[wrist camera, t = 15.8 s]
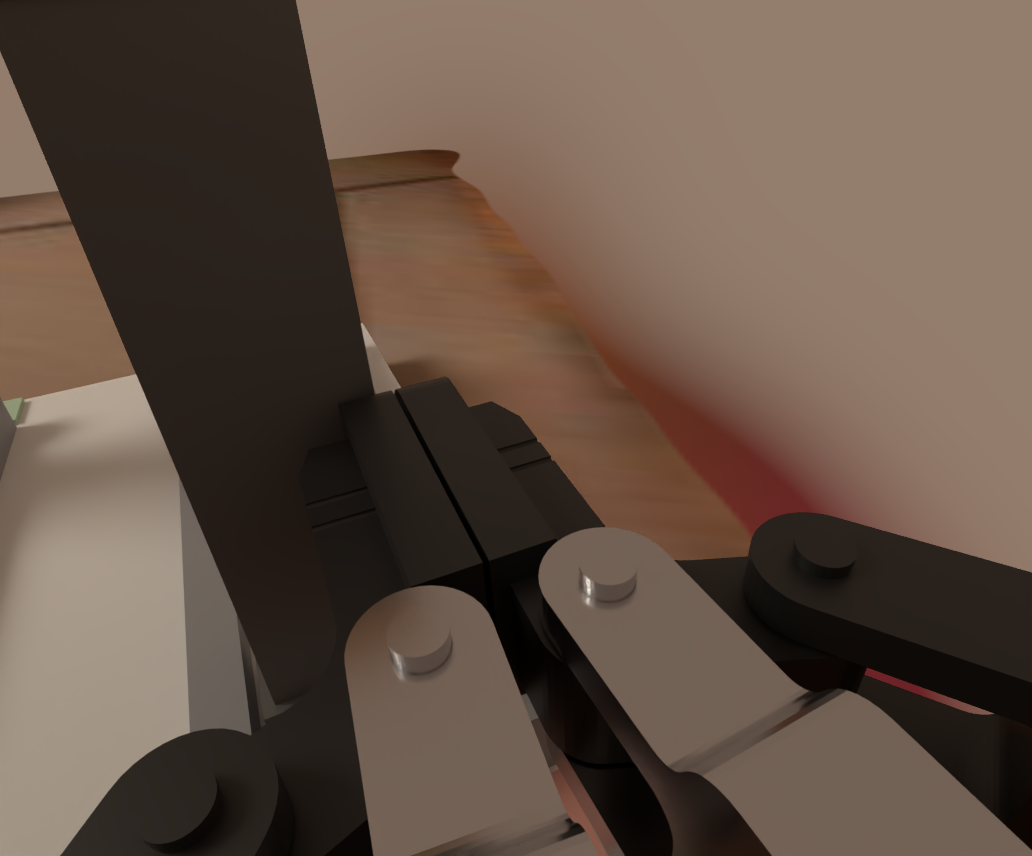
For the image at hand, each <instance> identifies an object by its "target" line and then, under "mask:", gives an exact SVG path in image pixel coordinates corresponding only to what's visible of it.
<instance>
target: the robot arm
mask: <svg viewBox="0 0 1032 856" xmlns="http://www.w3.org/2000/svg"><path fill="white" fill-rule="evenodd" d="M338 406H339V412H340V417H341V421H342V426H343V430H344V434H345V438H346V440H343V441H339V442H336V443H332V444H328V445H324V446H321V447H317V448H313V449H309V451H308V454H307V456H306V459H305V462H304V464H303V467H302V469H301V472H300V475H299V480H300V484H301V488H302V492H303V496H304V500H305V504H306V508H307V512H308V516H309V520H310V524H311V527H312V531H313V535H314V539H315V543H316V547H317V551H318V555H319V559H320V563H321V567H322V571H323V575H324V579H325V583H326V586H327V590H328V594H329V598H330V602H331V606H332V610H333V614H334V618H335V623H336V630H337V631H336V643H335V647H334V651H333V654H332V657H331V659H330V661H329V664H328V666H327V667H326V669H325V671H324V672H323V674H322V676H321V677H320V678H319V680H318V681H317V682H316V683H315V685H314V686H313V687H312V688H311V689H310V690H309V691H308V692H307V693H306V694H305V695H304V696H303V697H302V698H301V699H300V700H299V701H297V702H296V703H295V704H294V705H292V706H291V707H290V708H288V709H287V710H286V711H284V712H283V713H281V714H280V715H278V716H277V717H276V718H274V719H273V720H271V721H270V722H268V723H267V724H266V725H264V726H263V727H261V728H260V729H258V730H257V731H256V732H254V733H253V734H251V735H248V734H245V733H243V732H240V731H237V730H231V729H225V728H218V729H205V730H199V731H194V732H191V733H188V734H185V735H182V736H179V737H176V738H174V739H172V740H170V741H168V742H166V743H163V744H162V745H160V746H159V747H157V748H155V749H154V750H152V751H150V752H149V753H147V754H146V755H145V756H143V757H142V758H141V759H140V760H138V761H137V762H136V763H134V764H133V765H132V766H131V767H130V768H129V769H128V770H127V771H126V772H125V773H124V774H123V775H122V776H121V777H120V778H119V779H118V780H117V781H116V783H115V784H114V785H113V786H112V787H111V789H110V790H109V791H108V792H107V793H106V795H105V796H104V798H103V799H102V800H101V802H100V803H99V804H98V806H97V807H96V808H95V810H94V811H93V812H92V814H91V815H90V816H89V818H88V819H87V820H86V822H85V823H84V824H83V826H82V827H81V828H80V830H79V831H78V832H77V834H76V835H75V836H74V838H73V839H72V841H71V842H70V843H69V845H68V846H67V847H66V849H65V850H64V851H63V853H62V854H61V855H60V856H599V855H598V853H597V851H596V849H595V847H594V845H593V843H592V841H591V839H590V837H589V836H588V834H587V832H586V831H585V830H584V828H583V827H582V826H581V825H580V824H579V823H575V822H573V821H572V820H571V818H570V817H569V815H568V813H567V811H566V809H565V807H564V805H563V803H562V801H561V798H560V796H559V793H558V791H557V788H556V785H555V783H554V780H553V778H552V775H551V772H550V770H549V767H548V765H547V762H546V759H545V757H544V754H543V751H542V749H541V746H540V744H539V741H538V738H537V736H536V733H535V731H534V728H533V725H532V723H531V720H530V718H529V715H528V712H527V710H526V707H525V705H524V702H523V699H522V697H521V696H522V695H524V694H526V693H527V695H528V697H529V699H530V702H531V704H532V706H533V708H534V710H535V712H536V714H537V716H538V718H539V720H540V722H541V724H542V726H543V728H544V730H545V733H546V742H547V746H548V749H549V752H550V754H551V756H552V758H553V760H554V761H555V763H556V765H557V767H558V768H559V770H560V772H561V774H562V775H563V777H564V779H565V780H566V782H567V784H568V786H569V787H570V789H571V791H572V792H573V794H574V796H575V798H576V799H577V801H578V803H579V805H580V806H581V808H582V810H583V811H584V813H585V815H586V817H587V818H588V820H589V822H590V823H591V825H592V827H593V829H594V830H595V832H596V834H597V836H598V837H599V839H600V841H601V842H602V844H603V846H604V848H605V849H606V851H607V853H608V855H609V856H1032V573H1031V572H1028V571H1024V570H1021V569H1017V568H1013V567H1010V566H1006V565H1003V564H999V563H996V562H992V561H989V560H985V559H982V558H978V557H975V556H971V555H968V554H964V553H960V552H957V551H953V550H949V549H946V548H942V547H939V546H936V545H932V544H929V543H925V542H921V541H918V540H914V539H911V538H907V537H904V536H900V535H897V534H893V533H889V532H886V531H882V530H879V529H875V528H872V527H868V526H864V525H861V524H858V523H854V522H850V521H847V520H843V519H840V518H836V517H832V516H828V515H824V514H817V513H804V512H803V513H802V512H798V513H788V514H784V515H780V516H777V517H774V518H772V519H769V520H768V521H766V522H765V523H763V524H762V525H761V526H760V527H759V528H758V529H757V530H756V531H755V533H754V535H753V537H752V540H751V544H750V549H749V554H748V557H734V558H719V559H705V560H683V561H679V560H673V559H672V558H671V557H670V556H669V555H668V554H667V553H666V552H665V551H664V550H663V549H662V548H661V547H660V546H659V545H658V544H656V543H655V542H653V541H652V540H650V539H648V538H647V537H644V536H642V535H640V534H638V533H635V532H632V531H629V530H624V529H619V528H609V527H605V525H604V524H603V523H602V522H601V520H600V519H599V518H598V516H597V515H596V514H595V513H594V511H593V510H592V509H591V507H590V506H589V505H588V504H587V502H586V501H585V500H584V498H583V497H582V496H581V495H580V493H579V492H578V491H577V489H576V488H575V487H574V486H573V484H572V483H571V482H570V480H569V479H568V478H567V476H566V475H565V474H564V473H563V471H562V470H561V469H560V467H559V466H558V465H557V464H556V462H555V461H552V460H551V456H550V455H549V453H548V452H547V451H546V449H545V448H544V447H543V446H542V444H541V443H540V442H539V443H538V442H537V438H536V437H535V435H534V434H533V433H532V431H531V430H530V429H529V427H528V426H527V425H526V424H525V422H524V421H523V420H522V418H521V417H520V416H518V415H516V414H515V413H513V412H511V411H509V410H507V409H505V408H503V407H501V406H499V405H497V404H496V403H494V402H492V401H491V402H487V403H484V404H480V405H476V406H472V407H468V406H467V405H466V403H465V402H464V400H463V399H462V397H461V396H460V394H459V393H458V391H457V390H456V388H455V387H454V385H453V384H452V382H451V381H450V380H449V378H447V377H443V378H439V379H435V380H431V381H427V382H423V383H419V384H415V385H411V386H407V387H403V388H399V389H395V392H394V393H393V392H392V391H391V390H390V391H386V392H382V393H378V394H374V395H370V396H366V397H362V398H358V399H354V400H350V401H346V402H342V403H339V404H338ZM867 668H870V669H873V670H875V671H878V672H881V673H884V674H887V675H890V676H892V677H895V678H898V679H900V680H903V681H906V682H909V683H912V684H914V685H917V686H920V687H922V688H925V689H928V690H931V691H934V692H936V693H939V694H942V695H945V696H947V697H950V698H953V699H956V700H959V701H961V702H964V703H967V704H970V705H972V706H975V707H978V708H981V709H983V710H986V711H989V712H992V713H994V714H990V715H979V714H972V713H968V712H965V711H962V710H959V709H956V708H953V707H951V706H948V705H945V704H942V703H940V702H937V701H934V700H931V699H929V698H926V697H923V696H921V695H918V694H915V693H912V692H910V691H907V690H904V689H901V688H899V687H896V686H893V685H891V684H888V683H885V682H882V681H880V680H877V679H874V678H872V677H869V676H866V675H864V674H865V671H866V669H867Z"/></svg>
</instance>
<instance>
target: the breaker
mask: <svg viewBox="0 0 1032 856" xmlns="http://www.w3.org/2000/svg"><path fill="white" fill-rule="evenodd" d="M0 52H1V54H2V56H3V59H4V61H5V63H6V66H7V68H8V70H9V73H10V75H11V78H12V80H13V83H14V85H15V87H16V89H17V92H18V94H19V97H20V99H21V101H22V104H23V106H24V109H25V111H26V113H27V116H28V118H29V121H30V123H31V125H32V128H33V130H34V132H35V135H36V137H37V140H38V142H39V144H40V147H41V149H42V151H43V154H44V156H45V159H46V161H47V163H48V166H49V168H50V171H51V173H52V175H53V178H54V180H55V182H56V185H57V187H58V190H59V192H60V194H61V197H62V199H63V202H64V204H65V206H66V209H67V211H68V213H69V216H70V218H71V221H72V223H73V225H74V228H75V230H76V232H77V235H78V237H79V240H80V242H81V244H82V247H83V249H84V251H85V254H86V256H87V259H88V261H89V263H90V266H91V268H92V271H93V273H94V275H95V278H96V280H97V282H98V285H99V287H100V290H101V292H102V294H103V297H104V299H105V301H106V304H107V306H108V309H109V311H110V313H111V316H112V318H113V320H114V323H115V325H116V328H117V330H118V332H119V335H120V337H121V340H122V342H123V344H124V347H125V349H126V351H127V354H128V356H129V359H130V361H131V363H132V366H133V368H134V370H135V373H136V375H137V378H138V380H139V382H140V385H141V387H142V390H143V392H144V394H145V397H146V399H147V401H148V404H149V406H150V409H151V411H152V413H153V416H154V418H155V420H156V423H157V425H158V428H159V430H160V432H161V435H162V437H163V439H164V442H165V444H166V447H167V449H168V451H169V454H170V456H171V459H172V461H173V463H174V466H175V468H176V470H177V473H178V475H179V478H180V480H181V482H182V485H183V487H184V489H185V492H186V494H187V497H188V499H189V501H190V504H191V506H192V508H193V511H194V513H195V516H196V518H197V520H198V523H199V525H200V528H201V530H202V532H203V535H204V537H205V539H206V542H207V544H208V547H209V549H210V551H211V554H212V556H213V558H214V561H215V563H216V566H217V568H218V570H219V573H220V575H221V577H222V580H223V582H224V585H225V587H226V589H227V592H228V594H229V597H230V599H231V601H232V604H233V606H234V608H235V611H236V613H237V616H238V618H239V620H240V623H241V625H242V627H243V630H244V632H245V635H246V637H247V639H248V642H249V644H250V646H251V649H252V651H253V654H254V656H255V660H256V667H257V674H258V681H259V688H260V695H261V702H262V709H263V716H264V721H265V723H266V724H267V723H268V722H270V721H271V720H273V719H274V718H276V717H277V716H278V715H280V714H281V713H283V712H284V711H286V710H287V709H288V708H290V707H291V706H292V705H294V704H295V703H296V702H297V701H299V700H300V699H301V698H302V697H303V696H304V695H305V694H306V693H307V692H308V691H309V690H310V689H311V688H312V687H313V686H314V685H315V683H316V682H317V681H318V680H319V678H320V677H321V676H322V674H323V672H324V671H325V669H326V667H327V666H328V664H329V661H330V659H331V657H332V654H333V651H334V647H335V643H336V631H337V630H336V623H335V618H334V614H333V610H332V606H331V602H330V598H329V594H328V590H327V586H326V583H325V579H324V575H323V571H322V567H321V563H320V559H319V555H318V551H317V547H316V543H315V539H314V535H313V531H312V527H311V524H310V520H309V516H308V512H307V508H306V504H305V500H304V496H303V492H302V488H301V484H300V480H299V475H300V472H301V469H302V467H303V464H304V462H305V459H306V456H307V454H308V451H309V449H313V448H317V447H321V446H324V445H328V444H332V443H336V442H339V441H343V440H346V438H345V434H344V430H343V426H342V421H341V417H340V412H339V406H338V404H339V403H342V402H346V401H350V400H354V399H358V398H362V397H366V396H370V395H374V394H375V392H374V387H373V382H372V377H371V372H370V367H369V362H368V357H367V352H366V347H365V342H364V337H363V332H362V327H361V322H360V317H359V312H358V308H357V303H356V298H355V293H354V288H353V283H352V278H351V273H350V268H349V263H348V258H347V253H346V248H345V243H344V238H343V233H342V228H341V223H340V218H339V213H338V208H337V203H336V198H335V193H334V188H333V183H332V178H331V173H330V168H329V163H328V158H327V154H326V149H325V144H324V139H323V134H322V129H321V124H320V119H319V114H318V109H317V104H316V99H315V94H314V89H313V84H312V79H311V74H310V70H309V64H308V59H307V55H306V49H305V44H304V40H303V34H302V30H301V24H300V20H299V14H298V9H297V5H296V0H0Z"/></svg>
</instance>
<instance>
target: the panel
mask: <svg viewBox="0 0 1032 856" xmlns="http://www.w3.org/2000/svg"><path fill="white" fill-rule="evenodd" d="M361 327H362V332H363V337H364V342H365V347H366V352H367V357H368V362H369V367H370V372H371V377H372V382H373V387H374V392H375V394H378V393H382V392H386V391H390V390H391V391H392V392H393V393H394V392H395V389H399V388H401V387H400V385H399V383H398V382H397V380H396V378H395V377H394V375H393V373H392V372H391V370H390V368H389V367H388V365H387V363H386V362H385V360H384V358H383V357H382V355H381V353H380V352H379V350H378V348H377V347H376V345H375V343H374V342H373V340H372V338H371V336H370V335H369V333H368V331H367V330H366V328H365V326H364V325H363V323H361ZM521 697H522V699H523V702H524V705H525V707H526V710H527V712H528V715H529V718H530V720H531V723H532V725H533V728H534V731H535V733H536V736H537V738H538V741H539V744H540V746H541V749H542V751H543V754H544V757H545V759H546V762H547V765H548V767H549V770H550V772H551V775H552V778H553V780H554V783H555V785H556V788H557V791H558V793H559V796H560V798H561V801H562V803H563V805H564V807H565V809H566V811H567V813H568V815H569V817H570V818H571V820H572V821H573V822H575V823H579V824H580V825H581V826H582V827H583V828H584V830H585V831H586V832H587V834H588V836H589V837H590V839H591V841H592V843H593V845H594V847H595V849H596V851H597V853H598V855H599V856H609V855H608V853H607V851H606V849H605V848H604V846H603V844H602V842H601V841H600V839H599V837H598V836H597V834H596V832H595V830H594V829H593V827H592V825H591V823H590V822H589V820H588V818H587V817H586V815H585V813H584V811H583V810H582V808H581V806H580V805H579V803H578V801H577V799H576V798H575V796H574V794H573V792H572V791H571V789H570V787H569V786H568V784H567V782H566V780H565V779H564V777H563V775H562V774H561V772H560V770H559V768H558V767H557V765H556V763H555V761H554V760H553V758H552V756H551V754H550V752H549V749H548V746H547V742H546V733H545V730H544V728H543V726H542V724H541V722H540V720H539V718H538V716H537V714H536V712H535V710H534V708H533V706H532V704H531V702H530V699H529V697H528V695H527V693H526V694H524V695H522V696H521ZM264 725H266V723H265V721H264V716H263V709H262V702H261V695H260V688H259V681H258V674H257V667H256V660H255V656H254V654H253V651H252V649H251V646H250V644H249V642H248V639H247V637H246V635H245V632H244V630H243V627H242V625H241V623H240V620H239V618H238V616H237V613H236V611H235V608H234V606H233V604H232V601H231V599H230V597H229V594H228V592H227V589H226V587H225V585H224V582H223V580H222V577H221V575H220V573H219V570H218V568H217V566H216V563H215V561H214V558H213V556H212V554H211V551H210V549H209V547H208V544H207V542H206V539H205V537H204V535H203V532H202V530H201V528H200V525H199V523H198V520H197V518H196V516H195V513H194V511H193V508H192V506H191V504H190V501H189V499H188V497H187V494H186V492H185V489H184V487H183V485H182V482H181V480H180V478H179V475H178V473H177V470H176V468H175V466H174V463H173V461H172V459H171V456H170V454H169V451H168V449H167V447H166V444H165V442H164V439H163V437H162V435H161V432H160V430H159V428H158V425H157V423H156V420H155V418H154V416H153V413H152V411H151V409H150V406H149V404H148V401H147V399H146V397H145V394H144V392H143V390H142V387H141V385H140V382H139V380H138V378H137V375H131V376H127V377H122V378H118V379H114V380H109V381H105V382H100V383H96V384H92V385H87V386H83V387H78V388H74V389H70V390H65V391H61V392H56V393H52V394H47V395H43V396H39V397H34V398H30V399H25V400H24V399H23V397H21V398H17V399H12V400H8V401H3V402H2V400H1V398H0V856H60V855H61V854H62V853H63V851H64V850H65V849H66V847H67V846H68V845H69V843H70V842H71V841H72V839H73V838H74V836H75V835H76V834H77V832H78V831H79V830H80V828H81V827H82V826H83V824H84V823H85V822H86V820H87V819H88V818H89V816H90V815H91V814H92V812H93V811H94V810H95V808H96V807H97V806H98V804H99V803H100V802H101V800H102V799H103V798H104V796H105V795H106V793H107V792H108V791H109V790H110V789H111V787H112V786H113V785H114V784H115V783H116V781H117V780H118V779H119V778H120V777H121V776H122V775H123V774H124V773H125V772H126V771H127V770H128V769H129V768H130V767H131V766H132V765H133V764H134V763H136V762H137V761H138V760H140V759H141V758H142V757H143V756H145V755H146V754H147V753H149V752H150V751H152V750H154V749H155V748H157V747H159V746H160V745H162V744H163V743H166V742H168V741H170V740H172V739H174V738H176V737H179V736H182V735H185V734H188V733H191V732H194V731H199V730H205V729H218V728H225V729H231V730H237V731H240V732H243V733H245V734H248V735H251V734H253V733H254V732H256V731H257V730H258V729H260V728H261V727H263V726H264Z"/></svg>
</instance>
